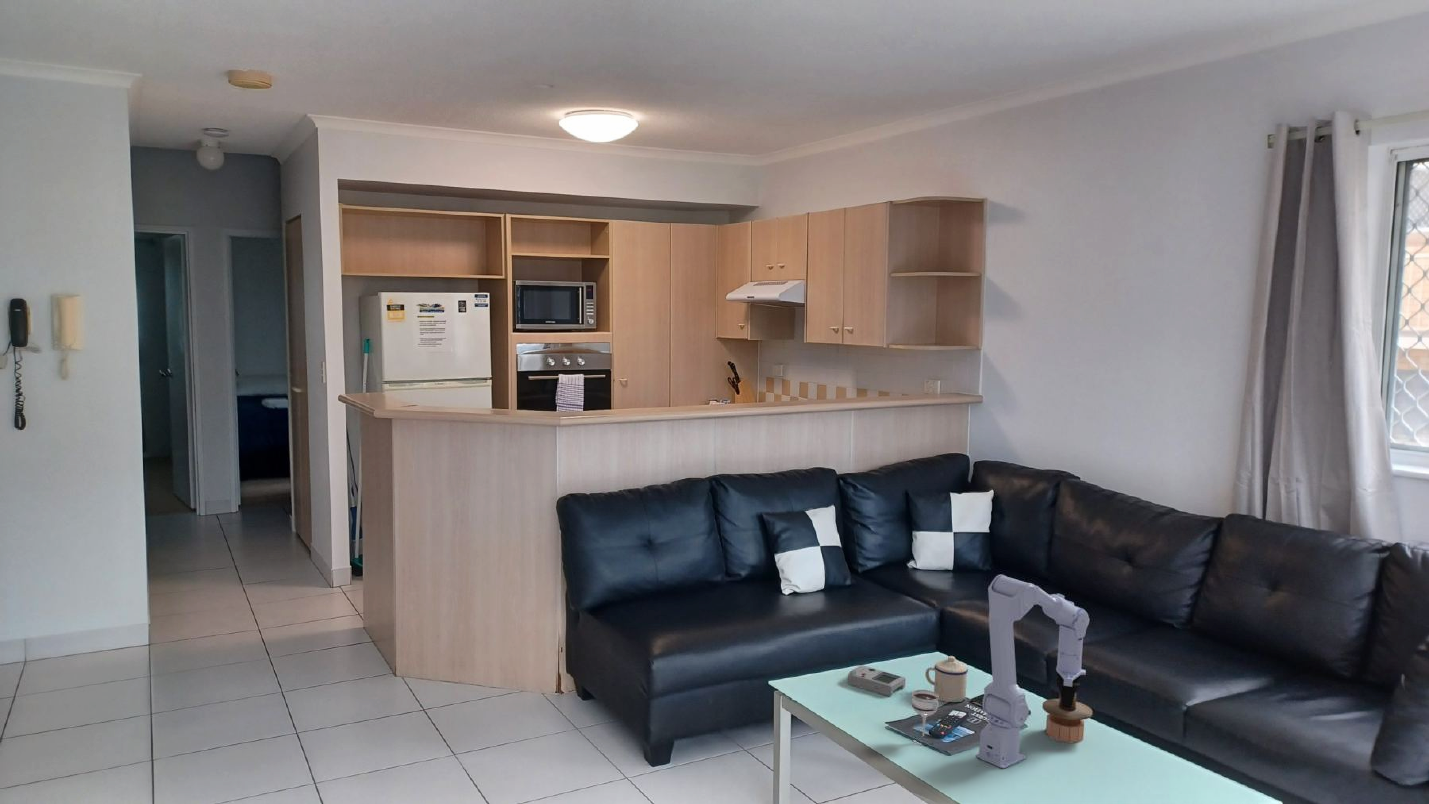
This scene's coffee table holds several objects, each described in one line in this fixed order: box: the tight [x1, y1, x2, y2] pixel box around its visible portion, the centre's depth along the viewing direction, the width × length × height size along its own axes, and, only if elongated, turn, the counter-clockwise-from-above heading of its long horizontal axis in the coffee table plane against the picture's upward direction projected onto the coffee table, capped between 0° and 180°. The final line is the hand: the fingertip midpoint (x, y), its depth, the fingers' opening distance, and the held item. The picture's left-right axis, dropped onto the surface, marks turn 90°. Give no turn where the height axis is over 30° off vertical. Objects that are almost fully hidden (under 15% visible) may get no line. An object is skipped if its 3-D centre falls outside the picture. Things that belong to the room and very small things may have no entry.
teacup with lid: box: [925, 655, 969, 703], centre depth 269 cm, size 12×9×12 cm
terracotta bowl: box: [1045, 713, 1085, 744], centre depth 246 cm, size 9×9×4 cm
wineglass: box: [910, 689, 940, 747], centre depth 240 cm, size 7×7×12 cm
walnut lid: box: [1041, 692, 1093, 721], centre depth 245 cm, size 12×12×5 cm
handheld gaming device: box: [847, 664, 906, 697], centre depth 275 cm, size 9×15×4 cm, turn 51°
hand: (1066, 703), depth 245 cm, fingers closed on walnut lid, 4 cm apart
